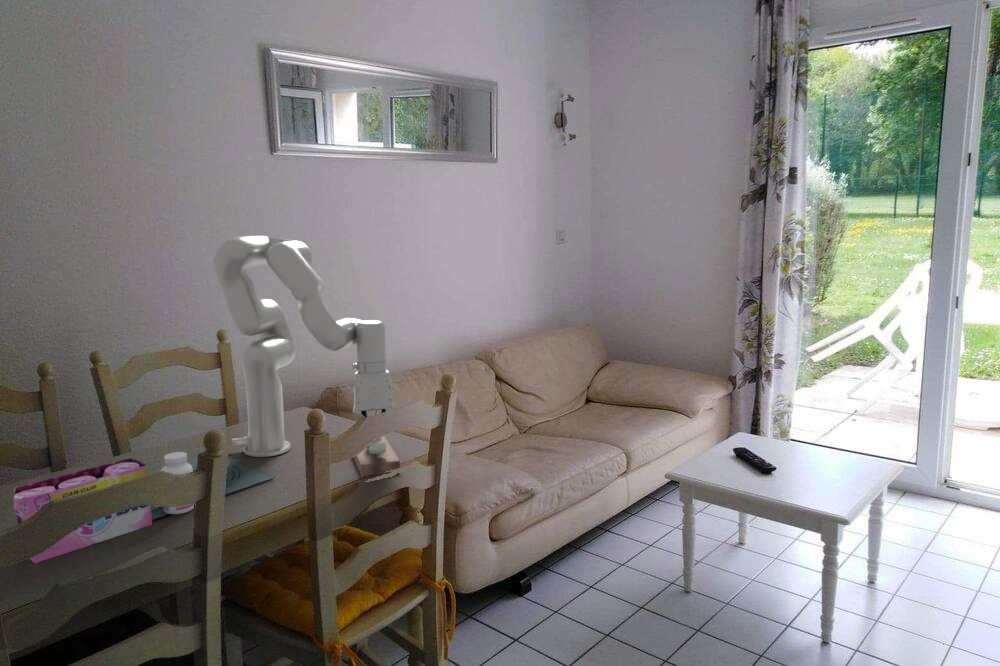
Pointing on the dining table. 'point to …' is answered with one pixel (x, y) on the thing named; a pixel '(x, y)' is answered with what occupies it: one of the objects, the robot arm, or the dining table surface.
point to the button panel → (377, 461)
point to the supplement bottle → (177, 466)
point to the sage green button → (377, 447)
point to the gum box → (79, 483)
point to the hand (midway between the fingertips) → (373, 432)
